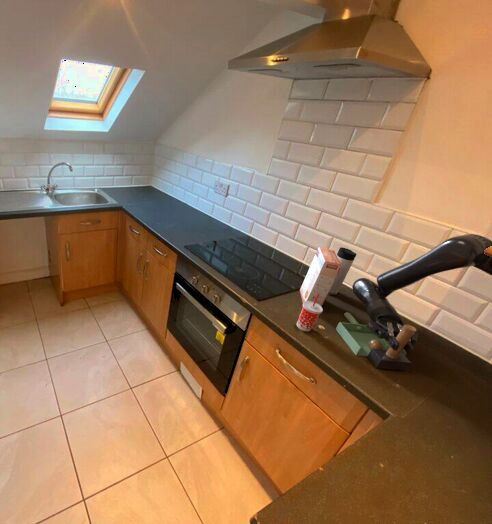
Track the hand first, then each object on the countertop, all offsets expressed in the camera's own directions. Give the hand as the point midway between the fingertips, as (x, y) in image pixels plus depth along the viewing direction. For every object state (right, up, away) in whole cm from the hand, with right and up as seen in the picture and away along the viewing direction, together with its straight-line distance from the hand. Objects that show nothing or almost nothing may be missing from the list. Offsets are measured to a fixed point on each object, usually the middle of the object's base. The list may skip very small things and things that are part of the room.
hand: (403, 349), depth 86 cm
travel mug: (+5, +13, +43) cm, 45 cm away
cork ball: (0, -2, +11) cm, 11 cm away
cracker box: (-8, +9, +35) cm, 37 cm away
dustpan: (+1, 0, +18) cm, 18 cm away
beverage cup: (-18, +2, +19) cm, 27 cm away
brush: (0, -6, +6) cm, 9 cm away
